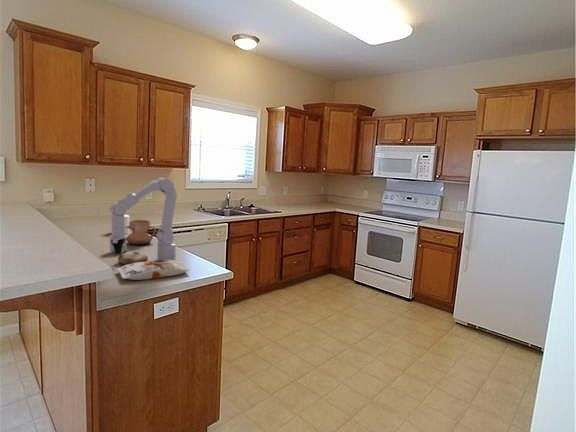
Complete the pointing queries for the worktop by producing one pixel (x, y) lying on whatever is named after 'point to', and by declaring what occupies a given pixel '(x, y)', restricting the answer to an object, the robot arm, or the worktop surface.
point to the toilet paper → (127, 223)
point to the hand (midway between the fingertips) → (118, 253)
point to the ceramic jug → (139, 232)
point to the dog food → (152, 269)
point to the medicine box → (113, 246)
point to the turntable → (131, 258)
